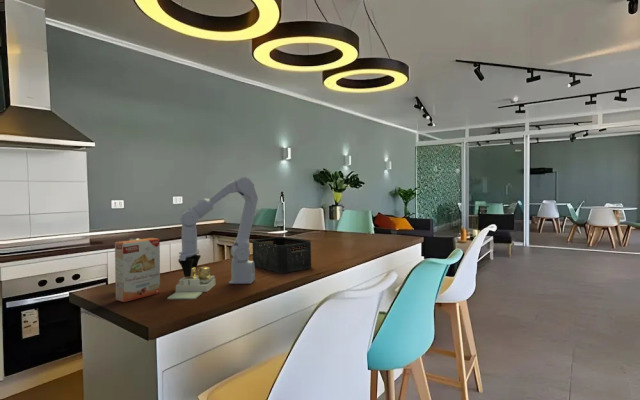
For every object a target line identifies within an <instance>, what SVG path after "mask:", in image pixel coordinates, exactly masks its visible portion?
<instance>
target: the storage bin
mask: <svg viewBox="0 0 640 400" xmlns="http://www.w3.org/2000/svg"><path fill="white" fill-rule="evenodd" d="M251 241H252V261H254V264H255V267H256V266H257V267H256V268H259V269H262V270H263V269H264V270H268V271H270V272H275V273H278V274H279V273H280V274H284V273H287V274H289V273H294V272H298V271H302V270H303V271H304V270H308V269H310V268H312V246H311V245H312V241H311V240H307V239H299V238H293V237H292V238H291V237H284V236H277V237H269V238H260V239H259V238H258V239H253V240H251ZM267 242H268V243H267ZM269 242H272V243H269Z"/></svg>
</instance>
